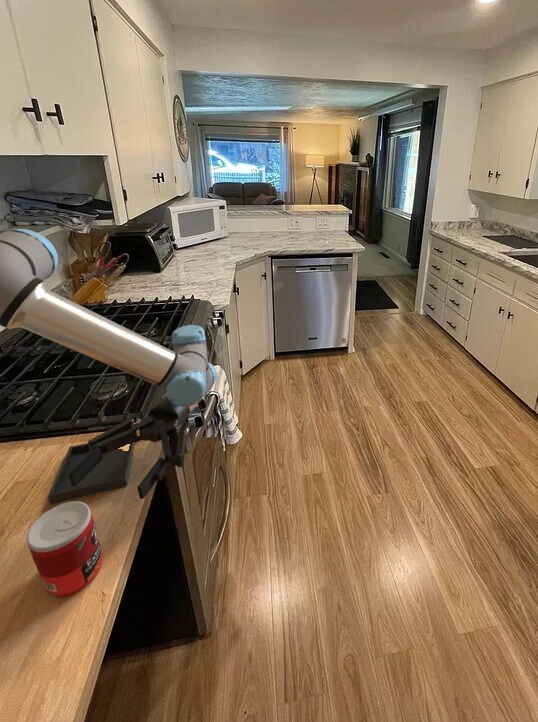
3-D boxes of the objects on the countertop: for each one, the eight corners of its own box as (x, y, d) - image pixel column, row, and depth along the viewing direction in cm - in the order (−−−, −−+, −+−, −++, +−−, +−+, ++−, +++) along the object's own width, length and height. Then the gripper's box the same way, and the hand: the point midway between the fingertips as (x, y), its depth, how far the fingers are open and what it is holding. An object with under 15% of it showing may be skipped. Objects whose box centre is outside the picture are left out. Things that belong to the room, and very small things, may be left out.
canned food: (100, 586, 56) (84, 537, 52) (38, 608, 53) (16, 558, 49) (108, 540, 62) (94, 494, 58) (53, 557, 59) (35, 510, 56)
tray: (50, 504, 69) (47, 496, 68) (71, 453, 80) (69, 446, 80) (126, 486, 73) (125, 478, 72) (136, 440, 84) (135, 433, 84)
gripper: (225, 428, 82) (173, 514, 62) (128, 415, 86) (50, 491, 66) (223, 401, 79) (166, 481, 59) (122, 388, 83) (39, 459, 63)
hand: (105, 487), depth 63 cm, fingers open, 13 cm apart
